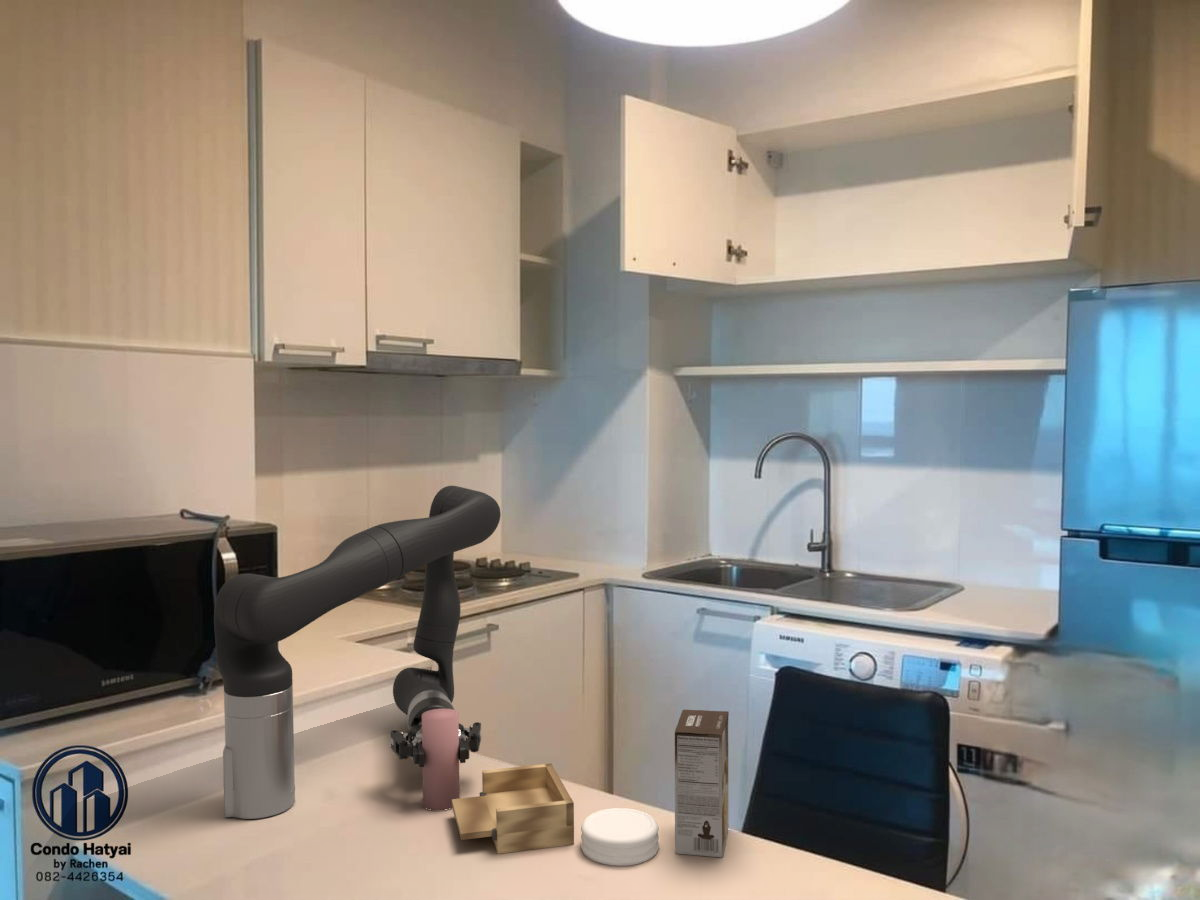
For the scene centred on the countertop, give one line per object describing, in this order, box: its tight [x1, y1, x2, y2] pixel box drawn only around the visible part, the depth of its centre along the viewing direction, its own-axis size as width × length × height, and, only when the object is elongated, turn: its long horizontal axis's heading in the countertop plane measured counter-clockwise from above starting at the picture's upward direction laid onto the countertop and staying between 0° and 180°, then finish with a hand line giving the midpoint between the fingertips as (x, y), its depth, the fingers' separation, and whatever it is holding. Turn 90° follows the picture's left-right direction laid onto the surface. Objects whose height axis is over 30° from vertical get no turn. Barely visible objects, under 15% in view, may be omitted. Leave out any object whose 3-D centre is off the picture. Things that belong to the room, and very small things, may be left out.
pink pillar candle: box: [422, 709, 461, 811], centre depth 135 cm, size 5×5×13 cm
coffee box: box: [674, 709, 729, 858], centre depth 123 cm, size 9×6×16 cm
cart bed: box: [452, 763, 575, 855], centre depth 127 cm, size 14×14×6 cm
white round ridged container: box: [580, 807, 660, 867], centre depth 122 cm, size 10×10×4 cm
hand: (442, 758), depth 133 cm, fingers closed on pink pillar candle, 5 cm apart
